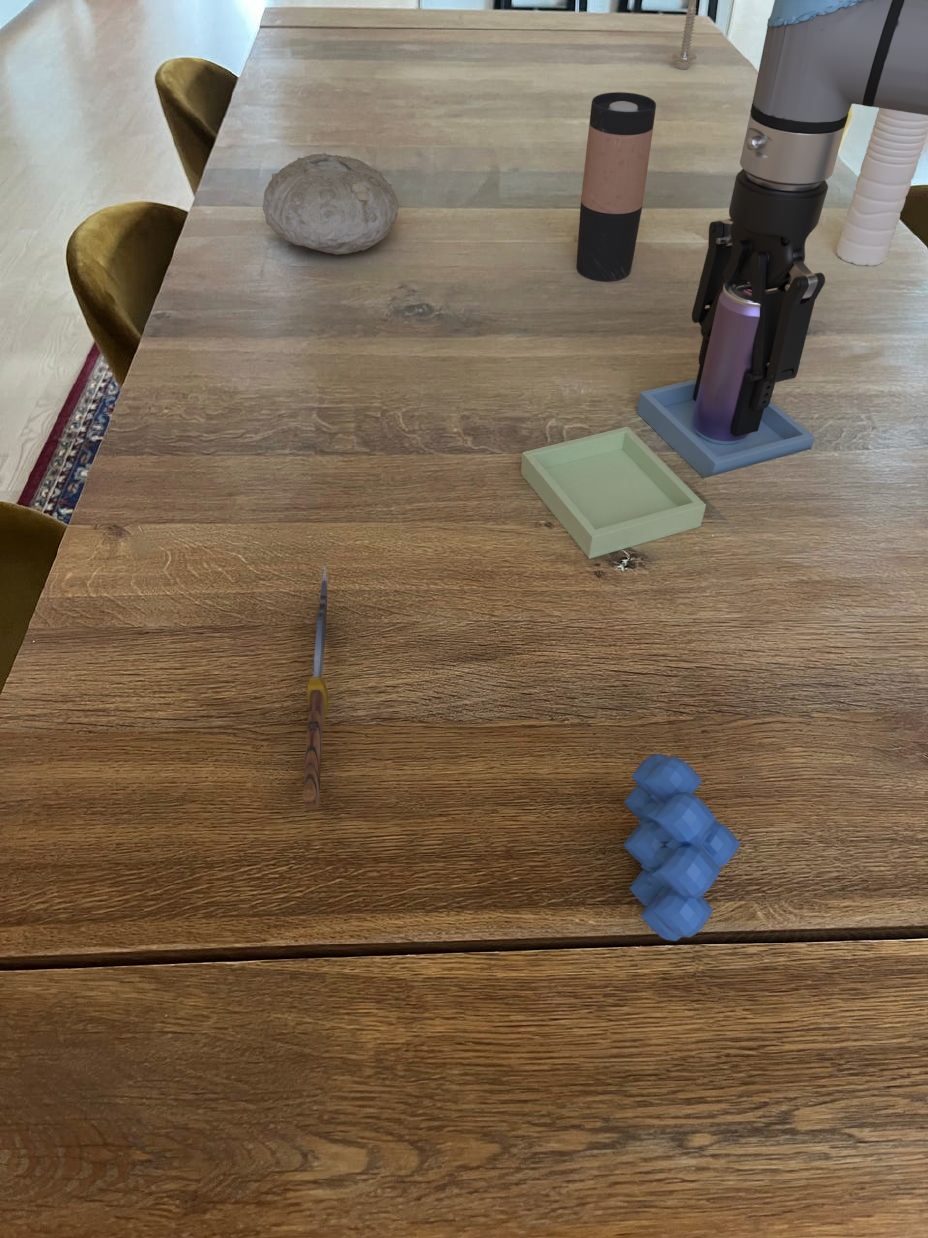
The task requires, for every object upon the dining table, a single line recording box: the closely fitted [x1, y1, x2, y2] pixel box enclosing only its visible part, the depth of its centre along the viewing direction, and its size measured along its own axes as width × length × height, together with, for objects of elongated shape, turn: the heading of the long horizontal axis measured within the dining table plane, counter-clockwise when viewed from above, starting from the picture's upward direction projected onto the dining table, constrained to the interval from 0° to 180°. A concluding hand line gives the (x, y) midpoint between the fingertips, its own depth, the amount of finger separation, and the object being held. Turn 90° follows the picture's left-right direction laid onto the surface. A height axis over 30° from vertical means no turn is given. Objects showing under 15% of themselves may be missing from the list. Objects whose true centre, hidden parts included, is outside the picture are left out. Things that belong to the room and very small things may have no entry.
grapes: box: [623, 752, 741, 942], centre depth 55 cm, size 12×7×12 cm, turn 1°
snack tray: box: [520, 426, 707, 560], centre depth 87 cm, size 14×12×2 cm
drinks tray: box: [636, 378, 815, 479], centre depth 95 cm, size 14×12×2 cm
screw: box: [671, 0, 697, 70], centre depth 185 cm, size 13×5×5 cm
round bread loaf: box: [262, 152, 399, 256], centre depth 124 cm, size 18×18×10 cm
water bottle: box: [835, 108, 928, 267], centre depth 117 cm, size 9×6×25 cm
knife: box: [302, 567, 329, 811], centre depth 69 cm, size 25×1×5 cm, turn 4°
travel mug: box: [576, 91, 657, 282], centre depth 116 cm, size 8×8×20 cm
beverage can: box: [692, 281, 777, 444], centre depth 90 cm, size 6×6×15 cm
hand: (724, 414), depth 94 cm, fingers closed on beverage can, 6 cm apart
